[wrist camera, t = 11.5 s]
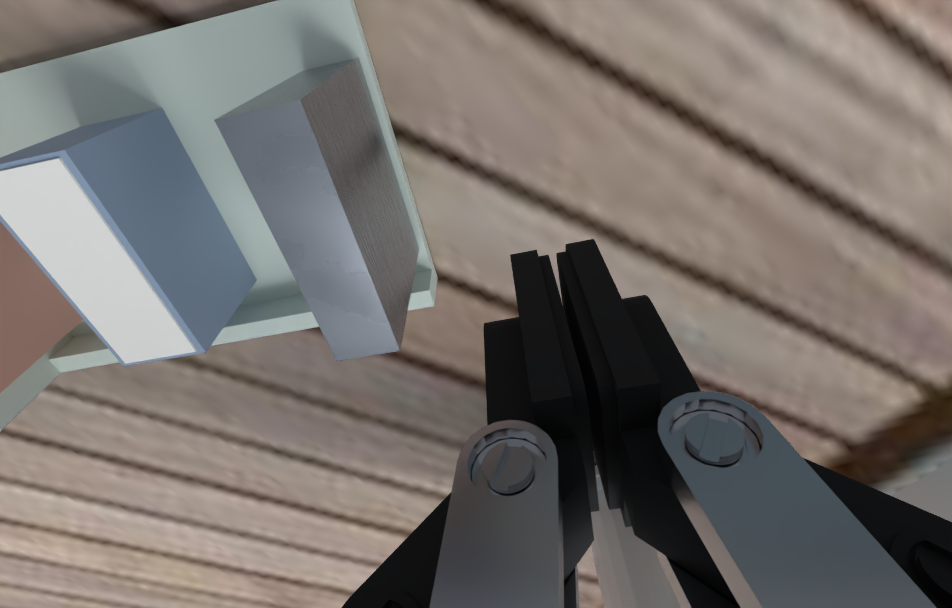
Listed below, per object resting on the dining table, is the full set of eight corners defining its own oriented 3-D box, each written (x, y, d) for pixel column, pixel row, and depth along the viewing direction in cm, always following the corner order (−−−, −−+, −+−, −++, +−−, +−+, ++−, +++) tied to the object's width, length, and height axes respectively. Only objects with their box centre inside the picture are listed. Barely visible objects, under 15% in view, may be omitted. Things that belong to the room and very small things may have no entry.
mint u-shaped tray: (348, -18, 19) (254, -14, 11) (437, 277, 26) (422, 408, 18) (-137, 109, 21) (-510, 192, 13) (76, 344, 29) (-75, 485, 21)
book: (162, 108, 20) (62, 150, 15) (256, 280, 25) (204, 354, 20) (80, 126, 21) (-43, 174, 16) (189, 292, 26) (121, 367, 21)
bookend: (358, 57, 19) (300, 99, 13) (419, 249, 24) (400, 350, 18) (301, 71, 19) (214, 119, 13) (372, 258, 24) (336, 361, 18)
